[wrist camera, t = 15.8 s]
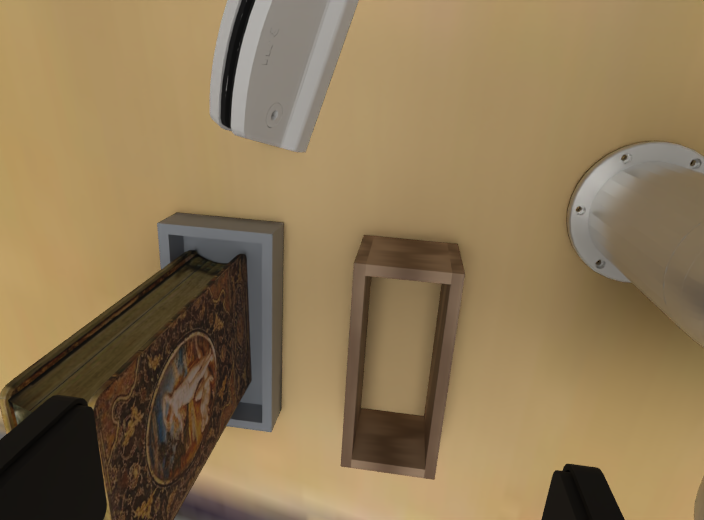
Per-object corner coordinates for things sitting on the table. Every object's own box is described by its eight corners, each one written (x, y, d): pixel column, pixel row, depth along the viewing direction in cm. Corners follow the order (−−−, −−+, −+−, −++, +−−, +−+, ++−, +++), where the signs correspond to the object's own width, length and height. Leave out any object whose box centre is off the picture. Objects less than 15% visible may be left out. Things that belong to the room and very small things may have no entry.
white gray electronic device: (303, 156, 46) (235, 156, 38) (264, 136, 48) (190, 131, 39) (371, -36, 40) (308, -90, 32) (324, -53, 42) (252, -108, 33)
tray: (283, 222, 49) (272, 234, 45) (281, 409, 56) (271, 432, 53) (176, 212, 50) (157, 223, 46) (188, 396, 57) (172, 418, 54)
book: (252, 390, 55) (128, 618, 31) (204, 385, 55) (48, 605, 32) (246, 249, 49) (91, 400, 26) (194, 245, 50) (-5, 389, 26)
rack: (457, 244, 47) (464, 274, 40) (432, 425, 55) (434, 479, 47) (364, 235, 48) (353, 263, 41) (351, 414, 55) (340, 466, 48)
